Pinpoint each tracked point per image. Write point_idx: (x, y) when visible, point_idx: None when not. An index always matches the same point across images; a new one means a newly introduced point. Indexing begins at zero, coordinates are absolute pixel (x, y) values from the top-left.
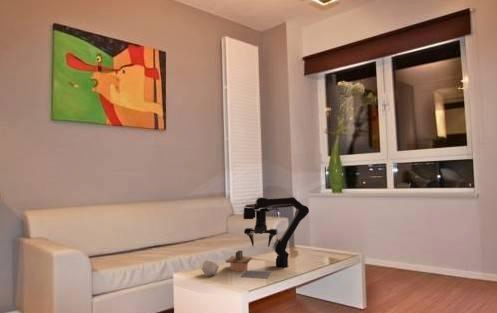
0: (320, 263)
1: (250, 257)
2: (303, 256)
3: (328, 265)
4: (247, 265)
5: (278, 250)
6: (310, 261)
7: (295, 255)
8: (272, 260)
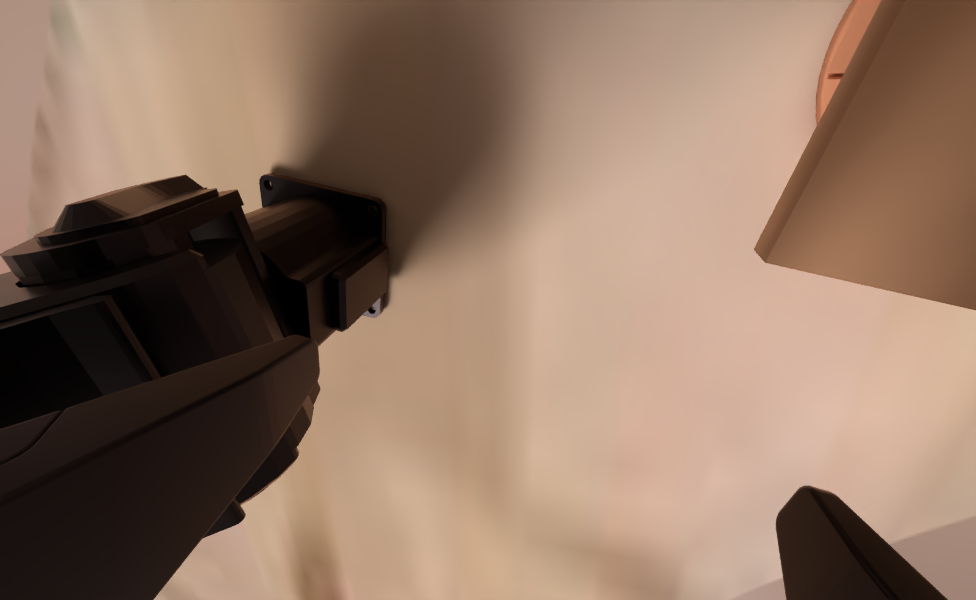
0: None
1: (801, 245)
2: (251, 540)
3: None
4: None
5: (134, 217)
6: None
7: (303, 570)
8: (449, 489)
